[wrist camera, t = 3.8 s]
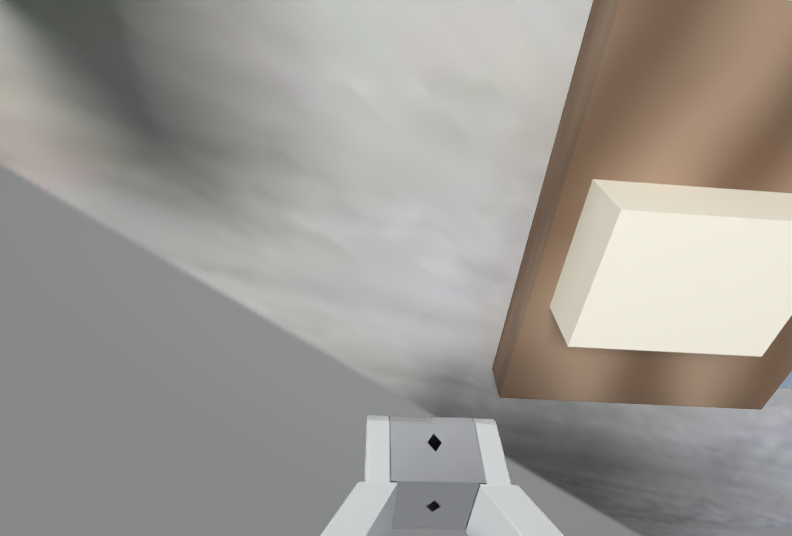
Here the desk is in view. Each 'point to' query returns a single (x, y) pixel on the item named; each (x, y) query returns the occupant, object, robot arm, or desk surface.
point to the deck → (659, 164)
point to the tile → (677, 270)
